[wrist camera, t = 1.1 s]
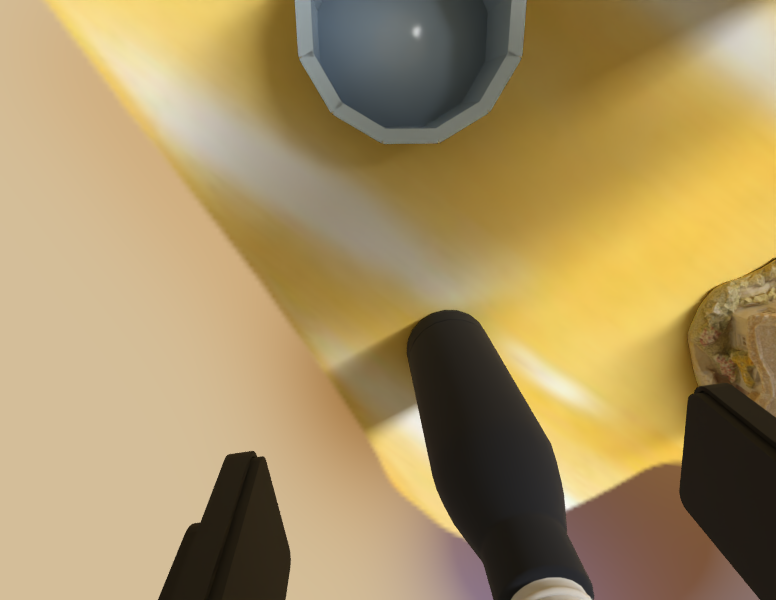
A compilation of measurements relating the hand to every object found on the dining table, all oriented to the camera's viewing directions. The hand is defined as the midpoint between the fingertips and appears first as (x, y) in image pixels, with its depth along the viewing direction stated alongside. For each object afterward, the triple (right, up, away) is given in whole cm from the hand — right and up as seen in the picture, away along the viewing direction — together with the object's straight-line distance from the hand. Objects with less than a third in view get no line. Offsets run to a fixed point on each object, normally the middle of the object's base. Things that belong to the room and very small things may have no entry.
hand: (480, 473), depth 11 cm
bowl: (-1, +20, +21) cm, 29 cm away
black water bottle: (+3, 0, +29) cm, 29 cm away
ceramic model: (+28, +1, +31) cm, 41 cm away
